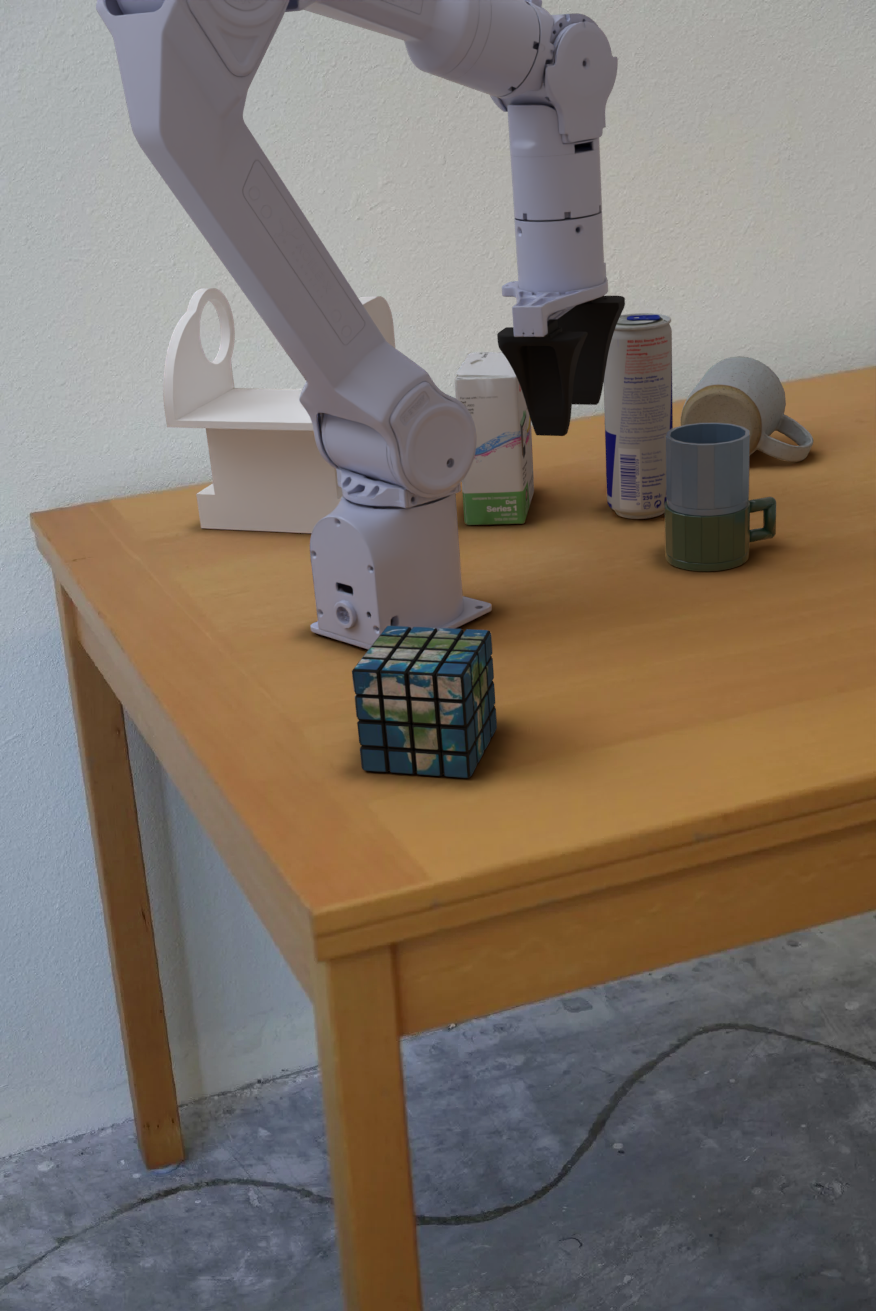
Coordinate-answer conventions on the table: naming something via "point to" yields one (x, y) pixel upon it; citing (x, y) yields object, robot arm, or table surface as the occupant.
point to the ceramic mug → (748, 406)
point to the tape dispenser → (250, 430)
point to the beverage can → (638, 414)
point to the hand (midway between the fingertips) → (568, 418)
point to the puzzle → (425, 701)
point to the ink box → (496, 441)
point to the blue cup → (707, 468)
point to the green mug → (716, 536)
